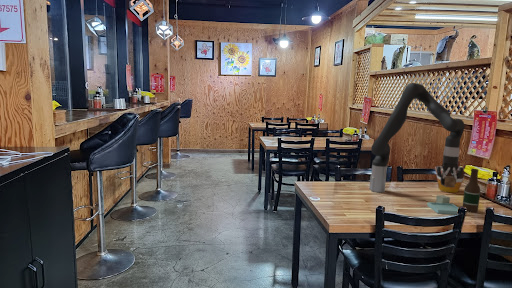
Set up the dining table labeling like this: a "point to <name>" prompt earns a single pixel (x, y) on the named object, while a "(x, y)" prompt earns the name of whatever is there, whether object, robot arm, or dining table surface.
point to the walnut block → (449, 181)
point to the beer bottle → (472, 193)
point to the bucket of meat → (458, 181)
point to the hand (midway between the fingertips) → (447, 184)
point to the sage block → (442, 199)
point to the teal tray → (443, 208)
